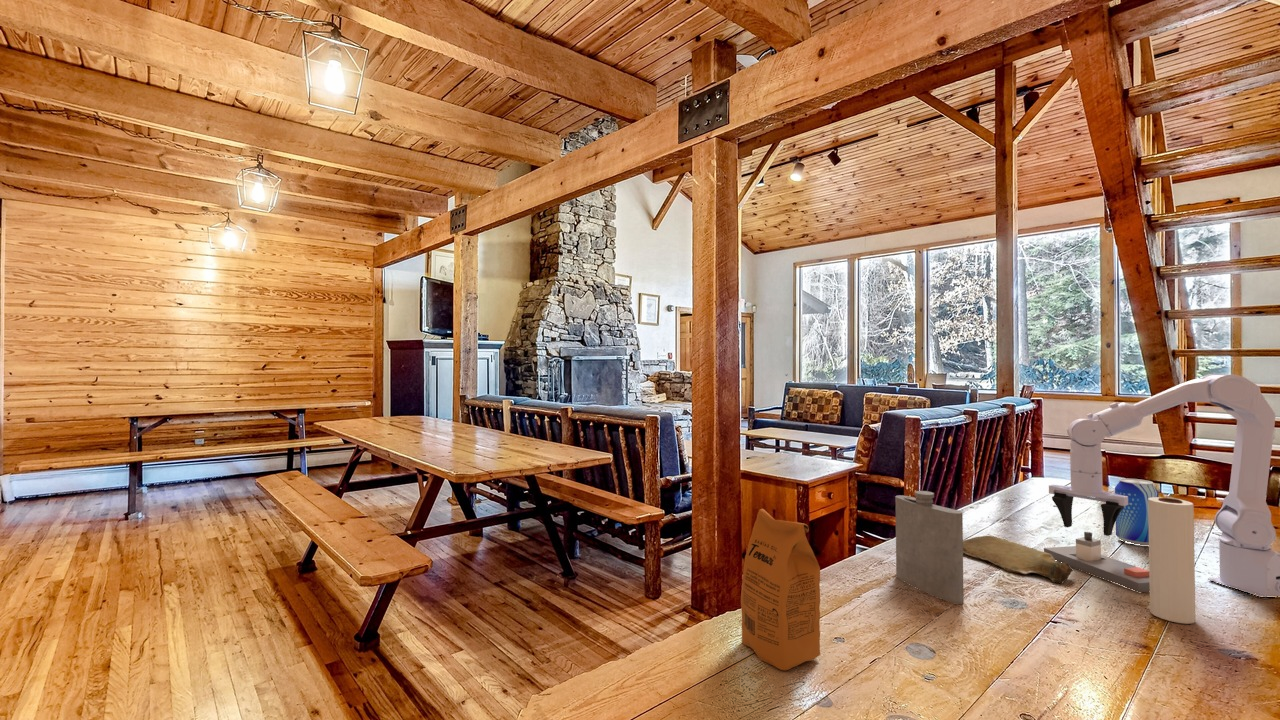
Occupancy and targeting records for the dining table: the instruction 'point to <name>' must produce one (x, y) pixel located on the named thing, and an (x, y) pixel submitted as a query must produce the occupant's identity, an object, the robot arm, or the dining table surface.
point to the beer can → (1134, 510)
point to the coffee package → (781, 594)
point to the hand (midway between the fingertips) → (1087, 530)
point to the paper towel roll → (1172, 559)
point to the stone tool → (1016, 557)
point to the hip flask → (930, 546)
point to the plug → (1088, 547)
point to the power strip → (1105, 568)
